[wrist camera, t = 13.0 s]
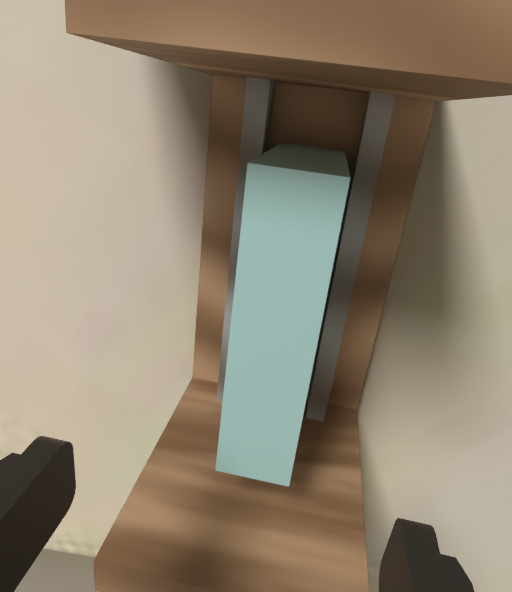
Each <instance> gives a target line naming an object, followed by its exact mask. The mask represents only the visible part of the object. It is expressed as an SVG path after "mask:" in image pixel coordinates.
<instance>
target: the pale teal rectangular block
mask: <svg viewBox="0 0 512 592" xmlns="http://www.w3.org/2000/svg"><path fill="white" fill-rule="evenodd" d="M349 183H350V173H349V168H348V163H347V158H346V154H345V150H338V149H331V148H324V147H317V146H309V145H302V144H295V143H287V142H282V143H280V144H279V145H277V146H275V147H274V148H272V149H270V150H269V151H267V152H265V153H264V154H262V155H260V156H259V157H257V158H255V159H254V160H252V161H250V162H248V164H247V173H246V183H245V192H244V202H243V211H242V221H241V230H240V240H239V249H238V259H237V268H236V278H235V288H234V297H233V307H232V316H231V326H230V335H229V345H228V354H227V364H226V373H225V383H224V392H223V402H222V411H221V421H220V431H219V440H218V450H217V459H216V469H215V471H220V472H224V473H229V474H233V475H238V476H243V477H247V478H252V479H256V480H261V481H265V482H270V483H274V484H279V485H283V486H288V487H289V484H290V479H291V474H292V469H293V464H294V459H295V454H296V449H297V444H298V439H299V434H300V429H301V424H302V419H303V414H304V409H305V404H306V399H307V394H308V389H309V384H310V379H311V374H312V369H313V364H314V359H315V354H316V349H317V344H318V339H319V334H320V328H321V323H322V318H323V313H324V308H325V303H326V298H327V293H328V288H329V283H330V278H331V273H332V268H333V263H334V258H335V253H336V248H337V243H338V238H339V233H340V228H341V223H342V218H343V213H344V208H345V203H346V198H347V193H348V188H349Z"/></svg>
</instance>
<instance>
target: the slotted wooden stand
mask: <svg viewBox="0 0 512 592" xmlns="http://www.w3.org/2000/svg"><path fill="white" fill-rule="evenodd" d="M65 13H66V32H67V33H70V34H73V35H77V36H80V37H84V38H87V39H90V40H94V41H97V42H101V43H104V44H108V45H111V46H115V47H118V48H122V49H125V50H129V51H132V52H136V53H139V54H143V55H146V56H150V57H153V58H157V59H160V60H164V61H167V62H171V63H174V64H178V65H181V66H185V67H188V68H192V69H195V70H198V71H202V72H205V73H209V74H212V75H213V81H212V96H211V110H210V125H209V140H208V155H207V170H206V185H205V200H204V215H203V229H202V244H201V259H200V274H199V289H198V304H197V319H196V333H195V348H194V363H193V378H192V379H191V381H190V383H189V385H188V387H187V389H186V391H185V392H184V394H183V396H182V398H181V400H180V402H179V404H178V405H177V407H176V409H175V411H174V413H173V415H172V417H171V418H170V420H169V422H168V424H167V426H166V428H165V430H164V431H163V433H162V435H161V437H160V439H159V441H158V443H157V444H156V446H155V448H154V450H153V452H152V454H151V456H150V457H149V459H148V461H147V463H146V465H145V467H144V469H143V470H142V472H141V474H140V476H139V478H138V480H137V482H136V483H135V485H134V487H133V489H132V491H131V493H130V495H129V496H128V498H127V500H126V502H125V504H124V506H123V508H122V509H121V511H120V513H119V515H118V517H117V519H116V520H115V522H114V524H113V526H112V528H111V530H110V532H109V533H108V535H107V537H106V539H105V541H104V543H103V545H102V546H101V548H100V550H99V552H98V554H97V556H96V558H95V560H94V577H95V591H99V592H369V581H368V566H367V552H366V537H365V522H364V507H363V493H362V478H361V463H360V448H359V433H358V419H357V408H358V404H359V400H360V396H361V392H362V388H363V384H364V380H365V376H366V373H367V369H368V365H369V361H370V357H371V353H372V349H373V345H374V341H375V337H376V333H377V330H378V326H379V322H380V318H381V314H382V310H383V306H384V302H385V298H386V294H387V291H388V287H389V283H390V279H391V275H392V271H393V267H394V263H395V259H396V255H397V251H398V248H399V244H400V240H401V236H402V232H403V228H404V224H405V220H406V216H407V212H408V209H409V205H410V201H411V197H412V193H413V189H414V185H415V181H416V177H417V173H418V170H419V166H420V162H421V158H422V154H423V150H424V146H425V142H426V138H427V134H428V130H429V127H430V123H431V119H432V115H433V111H434V107H435V103H436V101H448V100H459V99H471V98H482V97H494V96H505V95H512V0H65ZM282 142H287V143H295V144H302V145H309V146H317V147H324V148H331V149H338V150H345V154H346V158H347V163H348V168H349V173H350V183H349V188H348V193H347V198H346V203H345V208H344V213H343V218H342V223H341V228H340V233H339V238H338V243H337V248H336V253H335V258H334V263H333V268H332V273H331V278H330V283H329V288H328V293H327V298H326V303H325V308H324V313H323V318H322V323H321V328H320V334H319V339H318V344H317V349H316V354H315V359H314V364H313V369H312V374H311V379H310V384H309V389H308V394H307V399H306V404H305V409H304V414H303V419H302V424H301V429H300V434H299V439H298V444H297V449H296V454H295V459H294V464H293V469H292V474H291V479H290V484H289V487H288V486H283V485H279V484H274V483H270V482H265V481H261V480H256V479H252V478H247V477H243V476H238V475H233V474H229V473H224V472H220V471H215V469H216V459H217V450H218V440H219V431H220V421H221V411H222V402H223V392H224V383H225V373H226V364H227V354H228V345H229V335H230V326H231V316H232V307H233V297H234V288H235V278H236V268H237V259H238V249H239V240H240V230H241V221H242V211H243V202H244V192H245V183H246V173H247V164H248V162H250V161H252V160H254V159H255V158H257V157H259V156H260V155H262V154H264V153H265V152H267V151H269V150H270V149H272V148H274V147H275V146H277V145H279V144H280V143H282Z"/></svg>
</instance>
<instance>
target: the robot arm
mask: <svg viewBox="0 0 512 592" xmlns="http://www.w3.org/2000/svg"><path fill="white" fill-rule="evenodd" d="M75 489H76V482H75V468H74V455H73V446H72V444H71V443H70V442H67V441H62V440H58V439H54V438H49V437H45V436H40V437H38V438H36V439H35V440H34V441H33V442H32V443H31V444H30V445H29V446H28V448H27V449H26V450H25V451H24V452H23V453H22V454H21V455H20V454H15V453H12V454H10V455H8V456H7V457H5V458H3V459H2V460H0V592H14V591H15V589H16V588H17V586H18V585H19V583H20V582H21V580H22V578H23V577H24V576H25V574H26V573H27V571H28V570H29V568H30V567H31V565H32V564H33V562H34V561H35V559H36V558H37V556H38V555H39V553H40V552H41V550H42V549H43V547H44V546H45V544H46V543H47V542H48V540H49V539H50V537H51V536H52V534H53V533H54V531H55V530H56V528H57V527H58V525H59V524H60V522H61V521H62V519H63V518H64V516H65V515H66V513H67V512H68V510H69V508H70V506H71V504H72V501H73V498H74V494H75ZM379 592H474V589H473V586H472V583H471V581H470V580H469V578H468V576H467V575H466V573H465V572H464V570H463V568H462V567H461V565H460V564H459V562H458V561H457V559H456V558H455V557H450V556H446V555H442V554H440V552H439V547H438V543H437V538H436V534H435V531H434V528H433V527H432V526H431V525H427V524H422V523H418V522H414V521H409V520H405V519H400V518H398V519H397V520H396V521H395V524H394V527H393V530H392V533H391V535H390V538H389V541H388V544H387V547H386V550H385V552H384V555H383V558H382V561H381V566H380V574H379Z"/></svg>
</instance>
